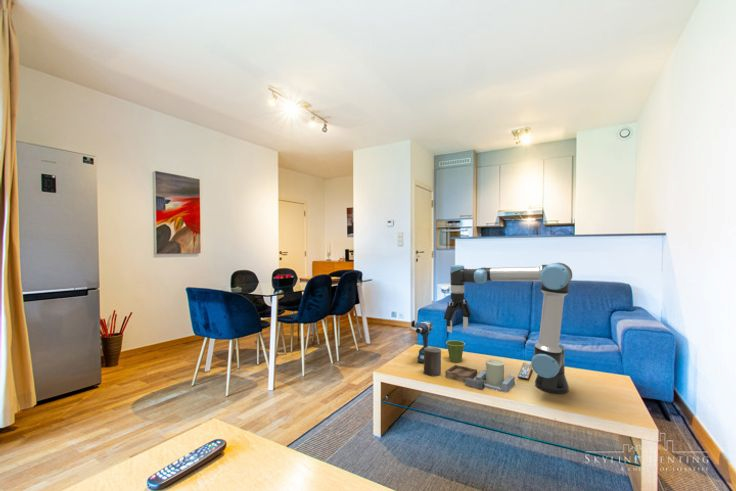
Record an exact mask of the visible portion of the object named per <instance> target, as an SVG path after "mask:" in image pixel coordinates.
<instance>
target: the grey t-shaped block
mask: <svg viewBox="0 0 736 491" xmlns="http://www.w3.org/2000/svg"><path fill="white" fill-rule="evenodd" d="M485 384H486V381H485V380H476V379H475V378H474V379H472V378H468V377H467V378H466V379H465V382H464V385H465V386H468V387H472V388H476V389H479V390H481V391H482V390H484V388H485Z"/></svg>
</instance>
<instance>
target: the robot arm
mask: <svg viewBox="0 0 736 491" xmlns="http://www.w3.org/2000/svg"><path fill="white" fill-rule="evenodd" d="M449 276H450V299H451V301H448V302H447V305H446V306H447V307H446V309H445V313H444V317H443V319H444V320H445V321H446V327H447V328H446V329H447V330H446V332H447V333H453V321H452V318H453V317H454V315H455V314H456V313H455V312H456V311H457V310H460V311H461V313H462V315H463V316H462V326H463V329H466V330H468V329H469V318H470V317H471V311H470V308H469V305H468V300H467V299H465V283H471V284H485V283H486V282H540V283H541V284H540V291H541V293H543V298H542V306H541V307H542V308H541V318H540V326H539V327H540V328H539V334H538V335H539V337H538V342H537V343H535V344H534V349H533V357H532V358H531V364H530V365H531V368H532V370H533V371H534V372H535V374H537V375H536V377H535V381H534V386H535V387H536V388H537V389H539V390H541V391H543V392H546V393H550V394H558V395H559V394H560V395H562V394H566V393H568V392H569V390H570V389H569V383H568V381H567V378H566V374H565V368H566V367H565V358H566V357H565V352H566V350H565V345H564V344H562V343H560V338H561V330H562V322H563V321H562V319H563V310H564V303H565V302H564V301H565V297H566V296H567V295H569V290H570V282H571V281H572V279H573V271H572V269H571V268H570V266H568V265H567V264H565V263H563V262H554V263H549V264H542V265H540V266H519V267H518V266H512V267H505V266H504V267H480V268H465V265H463V264H453V265H450V273H449Z"/></svg>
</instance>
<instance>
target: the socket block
mask: <svg viewBox="0 0 736 491" xmlns="http://www.w3.org/2000/svg"><path fill="white" fill-rule="evenodd" d="M515 378H516V377H515V375H514V376H513V375H509V376H507V377H506V378H504V381H503V382H502V387H501V388H500V387H496V386H492V385H489V384H486V383H485V387H486V389H490V390H492V389H493V391H496V390H497V392H504V393H508V392H509V391H510V390H509V389H512V388H513V387H514V386H515V381H516V380H515ZM474 379H476V380H485V382H486V369H483V370H482V371H480V373H477V376H475V378H474ZM485 387H484V388H485ZM508 390H509V391H508Z"/></svg>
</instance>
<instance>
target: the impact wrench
mask: <svg viewBox="0 0 736 491" xmlns="http://www.w3.org/2000/svg"><path fill="white" fill-rule="evenodd" d="M433 328H434V324H433V322H432V321H431V320H425V321H421V322H420V323H418V325H417V328H415V333H417V334H418V335H419V334H420V336H422V343H423V344H422V347H421V348H420V349H419V350H418V356H417V363H422V364H424V348H426V347H429V335H430V334H431V332H432V330H433Z"/></svg>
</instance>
